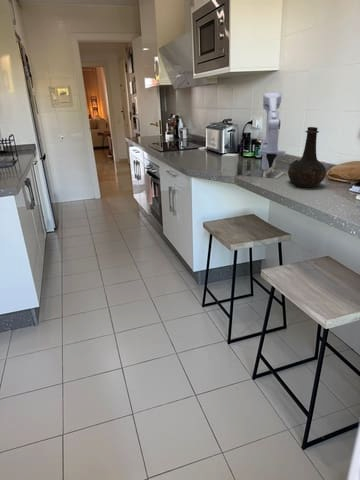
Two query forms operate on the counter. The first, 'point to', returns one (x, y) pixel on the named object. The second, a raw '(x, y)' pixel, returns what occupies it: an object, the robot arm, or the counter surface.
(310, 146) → the glass bottle
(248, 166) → the post right
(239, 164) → the post left
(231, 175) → the supplement box
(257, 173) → the panel
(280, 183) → the counter surface
